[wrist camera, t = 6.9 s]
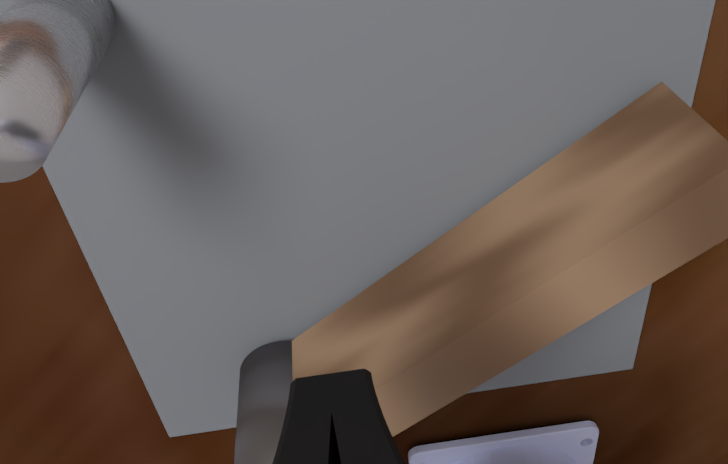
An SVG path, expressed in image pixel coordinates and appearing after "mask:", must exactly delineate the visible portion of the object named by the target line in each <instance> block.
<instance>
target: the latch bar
mask: <svg viewBox="0 0 728 464" xmlns="http://www.w3.org/2000/svg"><path fill="white" fill-rule="evenodd" d="M727 238H728V141H727V140H726V139H725V138H724V137H723V136H721V135H720V134H719V133H718V132H717V131H716V130H715V129H714V128H713V127H712V126H710V125H709V124H708V123H707V122H706V121H705V120H704V119H703V118H702V117H700V116H699V115H698V114H697V113H696V112H695V111H694V110H693V109H692V108H691V107H689V106H688V105H687V104H686V103H685V102H684V101H683V100H682V99H681V98H680V97H678V96H677V95H676V94H675V93H674V92H673V91H672V90H671V89H670V88H669V87H667V86H666V85H665V84H664V83H663V82H660V83H659V84H657V85H656V86H655V87H653V88H652V89H650V90H649V91H647V92H646V93H645V94H643V95H642V96H640V97H639V98H638V99H636V100H635V101H633V102H632V103H630V104H629V105H628V106H626V107H625V108H623V109H622V110H620V111H619V112H618V113H616V114H615V115H613V116H612V117H610V118H609V119H608V120H606V121H605V122H603V123H602V124H600V125H599V126H598V127H596V128H595V129H593V130H592V131H590V132H589V133H588V134H586V135H585V136H583V137H582V138H580V139H579V140H578V141H576V142H575V143H573V144H572V145H570V146H569V147H568V148H566V149H565V150H563V151H562V152H560V153H559V154H558V155H556V156H555V157H553V158H552V159H550V160H549V161H548V162H546V163H545V164H543V165H542V166H540V167H539V168H538V169H536V170H535V171H533V172H532V173H530V174H529V175H528V176H526V177H525V178H523V179H522V180H520V181H519V182H518V183H516V184H515V185H513V186H512V187H511V188H509V189H508V190H506V191H505V192H503V193H502V194H501V195H499V196H498V197H496V198H495V199H493V200H492V201H491V202H489V203H488V204H486V205H485V206H483V207H482V208H481V209H479V210H478V211H476V212H475V213H473V214H472V215H471V216H469V217H468V218H466V219H465V220H463V221H462V222H461V223H459V224H458V225H456V226H455V227H453V228H452V229H451V230H449V231H448V232H446V233H445V234H443V235H442V236H441V237H439V238H438V239H436V240H435V241H433V242H432V243H431V244H429V245H428V246H426V247H425V248H423V249H422V250H421V251H419V252H418V253H416V254H415V255H413V256H412V257H411V258H409V259H408V260H406V261H405V262H403V263H402V264H401V265H399V266H398V267H396V268H395V269H393V270H392V271H391V272H389V273H388V274H386V275H385V276H384V277H382V278H381V279H379V280H378V281H376V282H375V283H374V284H372V285H371V286H369V287H368V288H366V289H365V290H364V291H362V292H361V293H359V294H358V295H356V296H355V297H354V298H352V299H351V300H349V301H348V302H346V303H345V304H344V305H342V306H341V307H339V308H338V309H336V310H335V311H334V312H332V313H331V314H329V315H328V316H326V317H325V318H324V319H322V320H321V321H319V322H318V323H316V324H315V325H314V326H312V327H311V328H309V329H308V330H306V331H305V332H304V333H302V334H301V335H299V336H298V337H296V338H295V339H294V340H292V341H277V342H272V343H268V344H265V345H263V346H260V347H258V348H257V349H255V350H253V351H252V352H251V353H250V354H248V356H247V357H246V358H245V359H244V361H243V362H242V364H241V368H240V378H239V393H238V409H237V425H236V441H235V457H234V464H272V463H273V460H274V457H275V454H276V450H277V446H278V443H279V439H280V435H281V431H282V427H283V423H284V419H285V414H286V409H287V404H288V399H289V392H290V384H291V383H292V382H293V381H294V380H295V379H296V378H301V377H308V376H315V375H322V374H329V373H336V372H343V371H350V370H357V369H366V370H368V371H370V372H371V375H372V380H373V385H374V388H375V392H376V395H377V398H378V402H379V405H380V407H381V410H382V413H383V416H384V418H385V420H386V423H387V425H388V428H389V430H390V433H391V435H392V437H393V436H395V435H397V434H398V433H400V432H402V431H404V430H405V429H407V428H409V427H410V426H412V425H414V424H415V423H417V422H419V421H420V420H422V419H424V418H425V417H427V416H429V415H430V414H432V413H434V412H436V411H437V410H439V409H441V408H442V407H444V406H446V405H447V404H449V403H451V402H452V401H454V400H456V399H457V398H459V397H461V396H462V395H464V394H466V393H468V392H469V391H471V390H473V389H474V388H476V387H478V386H479V385H481V384H483V383H484V382H486V381H488V380H489V379H491V378H493V377H495V376H496V375H498V374H500V373H501V372H503V371H505V370H506V369H508V368H510V367H511V366H513V365H515V364H516V363H518V362H520V361H521V360H523V359H525V358H527V357H528V356H530V355H532V354H533V353H535V352H537V351H538V350H540V349H542V348H543V347H545V346H547V345H548V344H550V343H552V342H553V341H555V340H557V339H559V338H560V337H562V336H564V335H565V334H567V333H569V332H570V331H572V330H574V329H575V328H577V327H579V326H580V325H582V324H584V323H586V322H587V321H589V320H591V319H592V318H594V317H596V316H597V315H599V314H601V313H602V312H604V311H606V310H607V309H609V308H611V307H612V306H614V305H616V304H618V303H619V302H621V301H623V300H624V299H626V298H628V297H629V296H631V295H633V294H634V293H636V292H638V291H639V290H641V289H643V288H644V287H646V286H648V285H650V284H651V283H653V282H655V281H656V280H658V279H660V278H661V277H663V276H665V275H666V274H668V273H670V272H671V271H673V270H675V269H676V268H678V267H680V266H682V265H683V264H685V263H687V262H688V261H690V260H692V259H693V258H695V257H697V256H698V255H700V254H702V253H703V252H705V251H707V250H709V249H710V248H712V247H714V246H715V245H717V244H719V243H720V242H722V241H724V240H725V239H727Z"/></svg>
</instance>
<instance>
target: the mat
mask: <svg viewBox="0 0 728 464" xmlns="http://www.w3.org/2000/svg"><path fill="white" fill-rule="evenodd" d="M14 1H15V0H0V15H1V14H2V13H3V12H4V11H5V10H6V9H7V8H8V7H9V6H10V5H11V4H12V3H13V2H14ZM110 1H111V2H112V4H113V7H114V10H115V13H116V20H117V26H116V31H115V35H114V37H113V39H112V41H111V43H110V44H109V46H108V48H107V50H106V52H105V54H104V55H103V57H102V59H101V61H100V63H99V64H98V66H97V68H96V70H95V72H94V73H93V75H92V77H91V79H90V81H89V83H88V84H87V86H86V88H85V90H84V92H83V93H82V95H81V97H80V99H79V101H78V103H77V104H76V106H75V108H74V110H73V112H72V113H71V115H70V117H69V119H68V121H67V122H66V124H65V126H64V128H63V130H62V132H61V133H60V135H59V137H58V139H57V141H56V142H55V144H54V146H53V148H52V150H51V151H50V153H49V155H48V157H47V159H46V161H45V162H44V164H43V165H42V166H43V168H44V170H45V172H46V175H47V177H48V179H49V181H50V183H51V185H52V187H53V190H54V192H55V194H56V196H57V198H58V200H59V202H60V204H61V207H62V209H63V211H64V213H65V215H66V217H67V219H68V222H69V224H70V226H71V228H72V230H73V232H74V234H75V237H76V239H77V241H78V243H79V245H80V247H81V249H82V251H83V254H84V256H85V258H86V260H87V262H88V264H89V266H90V269H91V271H92V273H93V275H94V277H95V279H96V281H97V284H98V286H99V288H100V290H101V292H102V294H103V296H104V298H105V301H106V303H107V305H108V307H109V309H110V311H111V313H112V316H113V318H114V320H115V322H116V324H117V326H118V328H119V331H120V333H121V335H122V337H123V339H124V341H125V343H126V345H127V348H128V350H129V352H130V354H131V356H132V358H133V360H134V363H135V365H136V367H137V369H138V371H139V373H140V375H141V378H142V380H143V382H144V384H145V386H146V388H147V390H148V392H149V395H150V397H151V399H152V401H153V403H154V405H155V407H156V410H157V412H158V414H159V416H160V418H161V420H162V422H163V425H164V427H165V429H166V431H167V433H168V435H169V437H174V436H181V435H188V434H195V433H201V432H208V431H215V430H222V429H229V428H235V427H236V425H237V409H238V393H239V378H240V368H241V364H242V362H243V361H244V359H245V358H246V357H247V356H248V354H250V353H251V352H252V351H253V350H255V349H257V348H258V347H260V346H263V345H265V344H268V343H272V342H277V341H292V340H294V339H295V338H296V337H298V336H299V335H301V334H302V333H304V332H305V331H306V330H308V329H309V328H311V327H312V326H314V325H315V324H316V323H318V322H319V321H321V320H322V319H324V318H325V317H326V316H328V315H329V314H331V313H332V312H334V311H335V310H336V309H338V308H339V307H341V306H342V305H344V304H345V303H346V302H348V301H349V300H351V299H352V298H354V297H355V296H356V295H358V294H359V293H361V292H362V291H364V290H365V289H366V288H368V287H369V286H371V285H372V284H374V283H375V282H376V281H378V280H379V279H381V278H382V277H384V276H385V275H386V274H388V273H389V272H391V271H392V270H393V269H395V268H396V267H398V266H399V265H401V264H402V263H403V262H405V261H406V260H408V259H409V258H411V257H412V256H413V255H415V254H416V253H418V252H419V251H421V250H422V249H423V248H425V247H426V246H428V245H429V244H431V243H432V242H433V241H435V240H436V239H438V238H439V237H441V236H442V235H443V234H445V233H446V232H448V231H449V230H451V229H452V228H453V227H455V226H456V225H458V224H459V223H461V222H462V221H463V220H465V219H466V218H468V217H469V216H471V215H472V214H473V213H475V212H476V211H478V210H479V209H481V208H482V207H483V206H485V205H486V204H488V203H489V202H491V201H492V200H493V199H495V198H496V197H498V196H499V195H501V194H502V193H503V192H505V191H506V190H508V189H509V188H511V187H512V186H513V185H515V184H516V183H518V182H519V181H520V180H522V179H523V178H525V177H526V176H528V175H529V174H530V173H532V172H533V171H535V170H536V169H538V168H539V167H540V166H542V165H543V164H545V163H546V162H548V161H549V160H550V159H552V158H553V157H555V156H556V155H558V154H559V153H560V152H562V151H563V150H565V149H566V148H568V147H569V146H570V145H572V144H573V143H575V142H576V141H578V140H579V139H580V138H582V137H583V136H585V135H586V134H588V133H589V132H590V131H592V130H593V129H595V128H596V127H598V126H599V125H600V124H602V123H603V122H605V121H606V120H608V119H609V118H610V117H612V116H613V115H615V114H616V113H618V112H619V111H620V110H622V109H623V108H625V107H626V106H628V105H629V104H630V103H632V102H633V101H635V100H636V99H638V98H639V97H640V96H642V95H643V94H645V93H646V92H647V91H649V90H650V89H652V88H653V87H655V86H656V85H657V84H659V83H660V82H663V83H664V84H665V85H666V86H667V87H669V88H670V89H671V90H672V91H673V92H674V93H675V94H676V95H677V96H678V97H680V98H681V99H682V100H683V101H684V102H685V103H686V104H687V105H688V106H689V107H692V103H693V98H694V94H695V89H696V85H697V81H698V76H699V72H700V67H701V63H702V58H703V54H704V49H705V45H706V41H707V36H708V32H709V27H710V23H711V18H712V14H713V9H714V5H715V1H716V0H110ZM651 285H652V283H651V284H650V285H648V286H646V287H644V288H643V289H641V290H639V291H638V292H636V293H634V294H633V295H631V296H629V297H628V298H626V299H624V300H623V301H621V302H619V303H618V304H616V305H614V306H612V307H611V308H609V309H607V310H606V311H604V312H602V313H601V314H599V315H597V316H596V317H594V318H592V319H591V320H589V321H587V322H586V323H584V324H582V325H580V326H579V327H577V328H575V329H574V330H572V331H570V332H569V333H567V334H565V335H564V336H562V337H560V338H559V339H557V340H555V341H553V342H552V343H550V344H548V345H547V346H545V347H543V348H542V349H540V350H538V351H537V352H535V353H533V354H532V355H530V356H528V357H527V358H525V359H523V360H521V361H520V362H518V363H516V364H515V365H513V366H511V367H510V368H508V369H506V370H505V371H503V372H501V373H500V374H498V375H496V376H495V377H493V378H491V379H489V380H488V381H486V382H484V383H483V384H481V385H479V386H478V387H476V388H474V389H473V390H471V391H469V392H468V393H472V392H479V391H486V390H493V389H499V388H506V387H513V386H520V385H527V384H533V383H540V382H547V381H554V380H560V379H567V378H574V377H581V376H587V375H594V374H601V373H608V372H615V371H621V370H628V369H633V365H634V361H635V356H636V352H637V347H638V343H639V339H640V334H641V330H642V325H643V321H644V316H645V312H646V307H647V303H648V299H649V294H650V290H651Z"/></svg>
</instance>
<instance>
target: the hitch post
mask: <svg viewBox="0 0 728 464" xmlns="http://www.w3.org/2000/svg"><path fill="white" fill-rule="evenodd" d="M116 26H117V20H116V13H115V10H114V7H113V4H112V2H111V1H110V0H15V1H14V2H13V3H12V4H11V5H10V6H9V7H8V8H7V9H6V10H5V11H4V12H3V13H2V14H1V15H0V182H13V181H18V180H21V179H24V178H26V177H28V176H30V175H32V174H33V173H35V172H36V171H37V170H38V169H39V168H40V167H41V166H42V165H43V164H44V162H45V161H46V159H47V157H48V155H49V153H50V151H51V150H52V148H53V146H54V144H55V142H56V141H57V139H58V137H59V135H60V133H61V132H62V130H63V128H64V126H65V124H66V122H67V121H68V119H69V117H70V115H71V113H72V112H73V110H74V108H75V106H76V104H77V103H78V101H79V99H80V97H81V95H82V93H83V92H84V90H85V88H86V86H87V84H88V83H89V81H90V79H91V77H92V75H93V73H94V72H95V70H96V68H97V66H98V64H99V63H100V61H101V59H102V57H103V55H104V54H105V52H106V50H107V48H108V46H109V44H110V43H111V41H112V39H113V37H114V35H115V31H116Z"/></svg>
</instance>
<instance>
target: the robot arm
mask: <svg viewBox="0 0 728 464" xmlns="http://www.w3.org/2000/svg"><path fill="white" fill-rule="evenodd" d="M598 436H599V429H598V427H597V425H596V423H595V422H593V421H580V422H573V423H567V424H560V425H553V426H546V427H540V428H533V429H526V430H520V431H513V432H506V433H499V434H493V435H486V436H479V437H473V438H466V439H459V440H452V441H446V442H439V443H432V444H426V445H419V446H415V447H413V448H412V449H411V450H410V451H409V452H408V461H409V464H593V461H594V456H595V451H596V446H597V441H598ZM272 464H405V463H404V461H403V459H402V457H401V455H400V453H399V451H398V448H397V446H396V444H395V442H394V440H393V437H392V435H391V433H390V430H389V428H388V425H387V423H386V420H385V418H384V416H383V413H382V410H381V407H380V405H379V402H378V398H377V395H376V392H375V388H374V385H373V380H372V375H371V372H370V371H368V370H366V369H357V370H350V371H343V372H336V373H329V374H322V375H315V376H308V377H301V378H296V379H295V380H294V381H293V382H292V383H291V384H290V392H289V399H288V404H287V409H286V414H285V419H284V423H283V427H282V431H281V435H280V439H279V443H278V446H277V450H276V454H275V457H274V460H273V463H272Z"/></svg>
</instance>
